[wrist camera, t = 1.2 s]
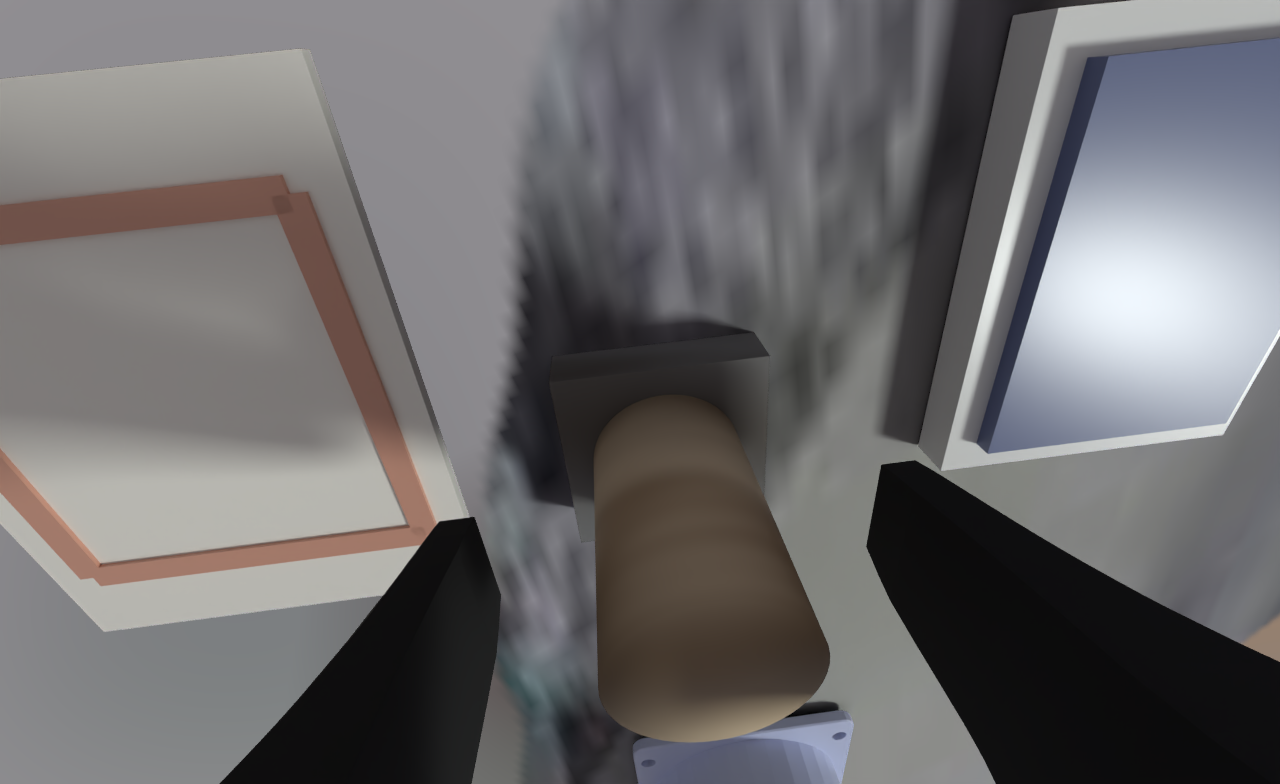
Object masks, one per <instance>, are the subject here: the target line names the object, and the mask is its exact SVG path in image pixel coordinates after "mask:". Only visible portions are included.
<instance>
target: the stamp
mask: <svg viewBox="0 0 1280 784" xmlns="http://www.w3.org/2000/svg"><path fill="white" fill-rule="evenodd" d="M769 367H770V355H769V354H768V352H767V351H766V349H765V348H764V346H763V345H762V344H761V342H760V341H759V339H758V338H757V336H756V335H755V333H754V332H753V333H744V334H736V335H727V336H719V337H710V338H702V339H693V340H685V341H676V342H668V343H660V344H651V345H643V346H634V347H626V348H617V349H609V350H600V351H592V352H584V353H575V354H567V355H558V356H552V361H551V369H550V377H549V386H550V391H551V396H552V401H553V406H554V411H555V416H556V420H557V425H558V430H559V435H560V440H561V445H562V450H563V455H564V460H565V465H566V470H567V475H568V480H569V485H570V489H571V494H572V499H573V504H574V509H575V514H576V519H577V524H578V529H579V534H580V539H581V542H589V541H595V557H596V605H597V653H598V690H599V697H600V700H601V703H602V705H603V707H604V708H605V710H606V712H607V713H608V714H609V715H610V716H611V717H612V718H613V719H614V720H615V721H616V722H618V723H619V724H620V725H622V726H623V727H625V728H627V729H629V730H630V731H633V732H635V733H637V734H640V735H643V736H646V737H650V738H653V739H658V740H663V741H672V742H689V743H690V742H708V741H717V740H723V739H728V738H733V737H737V736H741V735H745V734H748V733H751V732H754V731H757V730H759V729H762V728H764V727H767V726H769V725H771V724H773V723H775V722H777V721H779V720H781V719H783V718H785V717H786V716H788V715H790V714H791V713H793V712H794V711H795V710H797V709H798V708H800V707H801V706H802V705H803V704H804V703H805V702H807V701H808V700H809V699H810V698H811V697H812V696H813V695H814V693H815V692H816V691H817V690H818V688H819V687H820V685H821V684H822V683H823V681H824V679H825V676H826V674H827V672H828V668H829V664H830V652H829V646H828V644H827V641H826V639H825V637H824V634H823V632H822V630H821V627H820V625H819V623H818V620H817V618H816V616H815V613H814V611H813V609H812V606H811V604H810V602H809V599H808V597H807V595H806V592H805V590H804V588H803V585H802V583H801V581H800V579H799V576H798V574H797V572H796V569H795V567H794V565H793V562H792V560H791V558H790V555H789V553H788V551H787V548H786V546H785V544H784V541H783V539H782V537H781V534H780V532H779V530H778V527H777V525H776V523H775V521H774V518H773V516H772V514H771V511H770V509H769V507H768V504H767V502H766V500H765V497H764V488H765V464H766V440H767V415H768V391H769Z"/></svg>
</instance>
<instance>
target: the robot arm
mask: <svg viewBox="0 0 1280 784" xmlns="http://www.w3.org/2000/svg"><path fill="white" fill-rule="evenodd" d="M866 547H867V549H868V552H869V554H870V556H871V559H872V561H873V563H874V566H875V568H876V570H877V573H878V575H879V577H880V579H881V582H882V584H883V586H884V588H885V590H886V592H887V595H888V597H889V599H890V601H891V603H892V604H893V606H894V608H895V609H896V611H897V613H898V615H899V616H900V618H901V620H902V621H903V623H904V625H905V626H906V628H907V630H908V632H909V633H910V635H911V637H912V638H913V640H914V642H915V643H916V645H917V647H918V648H919V650H920V652H921V653H922V655H923V657H924V658H925V660H926V662H927V663H928V665H929V667H930V668H931V670H932V671H933V673H934V675H935V676H936V678H937V680H938V681H939V683H940V685H941V686H942V688H943V690H944V691H945V693H946V695H947V696H948V698H949V700H950V701H951V703H952V705H953V706H954V708H955V710H956V711H957V713H958V715H959V716H960V718H961V720H962V721H963V723H964V725H965V726H966V728H967V730H968V731H969V733H970V735H971V737H972V739H973V740H974V742H975V744H976V746H977V748H978V749H979V751H980V753H981V755H982V757H983V759H984V760H985V762H986V764H987V767H988V769H989V771H990V773H991V775H992V777H993V779H994V781H995V783H996V784H1280V662H1278V661H1276V660H1274V659H1272V658H1270V657H1268V656H1265V655H1263V654H1261V653H1259V652H1257V651H1255V650H1253V649H1250V648H1248V647H1246V646H1244V645H1242V644H1240V643H1238V642H1236V641H1234V640H1232V639H1230V638H1228V637H1225V636H1223V635H1221V634H1219V633H1217V632H1215V631H1213V630H1211V629H1209V628H1207V627H1205V626H1203V625H1201V624H1199V623H1197V622H1195V621H1193V620H1191V619H1189V618H1187V617H1185V616H1183V615H1181V614H1179V613H1177V612H1175V611H1173V610H1171V609H1169V608H1167V607H1165V606H1163V605H1161V604H1159V603H1157V602H1155V601H1153V600H1151V599H1150V598H1148V597H1146V596H1144V595H1142V594H1140V593H1138V592H1136V591H1134V590H1133V589H1131V588H1129V587H1127V586H1125V585H1124V584H1122V583H1120V582H1118V581H1116V580H1115V579H1113V578H1111V577H1109V576H1107V575H1106V574H1104V573H1102V572H1100V571H1098V570H1096V569H1095V568H1093V567H1091V566H1089V565H1087V564H1086V563H1084V562H1082V561H1080V560H1079V559H1077V558H1075V557H1073V556H1072V555H1070V554H1068V553H1067V552H1065V551H1063V550H1061V549H1060V548H1058V547H1056V546H1055V545H1053V544H1051V543H1050V542H1048V541H1046V540H1045V539H1043V538H1041V537H1039V536H1038V535H1036V534H1035V533H1033V532H1031V531H1030V530H1028V529H1026V528H1025V527H1023V526H1021V525H1020V524H1018V523H1016V522H1015V521H1013V520H1012V519H1010V518H1008V517H1007V516H1005V515H1003V514H1002V513H1000V512H999V511H997V510H995V509H994V508H992V507H991V506H989V505H987V504H986V503H984V502H983V501H981V500H979V499H978V498H976V497H975V496H973V495H971V494H970V493H968V492H967V491H965V490H963V489H962V488H960V487H959V486H957V485H955V484H954V483H952V482H951V481H949V480H947V479H946V478H944V477H943V476H941V475H939V474H938V473H936V472H934V471H933V470H931V469H929V468H928V467H926V466H924V465H922V464H921V463H919V462H917V461H915V460H914V461H906V462H898V463H891V464H883V465H881V470H880V475H879V480H878V486H877V491H876V497H875V502H874V508H873V513H872V519H871V524H870V529H869V535H868V540H867V546H866ZM500 601H501V594H500V591H499V588H498V585H497V582H496V579H495V576H494V573H493V570H492V567H491V564H490V561H489V559H488V556H487V553H486V550H485V547H484V544H483V541H482V538H481V535H480V532H479V529H478V526H477V523H476V520H475V517H469V518H461V519H453V520H446V521H439V522H438V523H437V525H436V526H435V527H434V528H433V530H432V531H431V532H430V534H429V535H428V536H427V537H426V539H425V540H424V541H423V543H422V544H421V546H420V547H419V548H418V550H417V551H416V552H415V554H414V555H413V556H412V558H411V559H410V560H409V562H408V563H407V564H406V566H405V567H404V568H403V570H402V571H401V572H400V574H399V575H398V576H397V578H396V579H395V580H394V582H393V583H392V584H391V586H390V587H389V588H388V590H387V591H386V592H385V594H384V595H383V596H382V598H381V599H380V600H379V601H378V603H377V604H376V605H375V607H374V608H373V609H372V610H371V612H370V613H369V614H368V615H367V617H366V618H365V619H364V621H363V622H362V623H361V624H360V626H359V627H358V628H357V630H356V631H355V632H354V633H353V635H352V636H351V637H350V638H349V640H348V641H347V642H346V643H345V645H344V646H343V647H342V648H341V649H340V651H339V652H338V653H337V654H336V655H335V656H334V658H333V659H332V660H331V661H330V662H329V664H328V665H327V666H326V667H325V668H324V669H323V671H322V672H321V673H320V674H319V675H318V677H317V678H316V679H315V680H314V681H313V682H312V684H311V685H310V686H309V687H308V689H307V690H306V691H305V692H304V693H303V694H302V696H301V697H300V698H299V699H298V700H297V701H296V702H295V703H294V705H293V706H292V707H291V708H290V709H289V710H288V711H287V713H286V714H285V715H284V716H283V717H282V718H281V719H280V720H279V721H278V723H277V724H276V725H275V726H274V727H273V728H272V729H271V730H270V731H269V732H268V733H267V735H266V736H265V737H264V738H263V739H262V740H261V741H260V742H259V743H258V744H257V745H256V746H255V747H254V748H253V749H252V750H251V751H250V752H249V754H248V755H247V756H246V757H245V758H244V759H243V760H242V761H241V762H240V763H239V764H238V765H237V766H236V767H235V768H234V769H233V770H232V771H231V772H230V773H229V775H228V776H227V777H226V778H225V779H224V780H223V781H222V782H221V783H220V784H471V783H472V778H473V773H474V768H475V762H476V757H477V752H478V747H479V742H480V737H481V732H482V727H483V722H484V717H485V711H486V706H487V701H488V696H489V691H490V685H491V680H492V675H493V670H494V664H495V659H496V653H497V641H498V630H499V616H500ZM853 727H854V723H853V720H852V718H851V716H850V714H849V713H848V712H846V711H843V710H837V711H830V712H823V713H816V714H809V715H802V716H795V717H787V718H783V719H781V720H779V721H777V722H775V723H773V724H771V725H769V726H767V727H764V728H762V729H759V730H757V731H754V732H751V733H748V734H745V735H741V736H737V737H733V738H728V739H723V740H717V741H708V742H690V743H689V742H672V741H663V740H658V739H653V738H650V737H646V738H642V739H639V740H637V741H636V742H635V743H634V744H633V758H634V763H635V769H636V774H637V779H638V784H841V783H842V778H843V773H844V769H845V764H846V759H847V755H848V750H849V745H850V741H851V736H852V731H853Z"/></svg>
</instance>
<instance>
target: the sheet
mask: <svg viewBox="0 0 1280 784" xmlns="http://www.w3.org/2000/svg"><path fill="white" fill-rule="evenodd" d="M461 518H469V514H468V511H467V508H466V505H465V502H464V499H463V496H462V493H461V490H460V487H459V484H458V481H457V478H456V476H455V473H454V470H453V467H452V464H451V461H450V458H449V455H448V452H447V449H446V446H445V444H444V441H443V438H442V435H441V432H440V429H439V426H438V423H437V420H436V417H435V414H434V411H433V409H432V406H431V403H430V400H429V397H428V394H427V391H426V388H425V385H424V382H423V379H422V376H421V373H420V370H419V367H418V364H417V361H416V359H415V356H414V353H413V350H412V347H411V344H410V341H409V338H408V335H407V332H406V329H405V327H404V324H403V321H402V318H401V315H400V312H399V309H398V306H397V303H396V300H395V297H394V294H393V292H392V289H391V286H390V283H389V280H388V277H387V274H386V271H385V268H384V265H383V262H382V259H381V256H380V254H379V250H378V247H377V245H376V242H375V239H374V236H373V233H372V230H371V227H370V224H369V221H368V218H367V215H366V212H365V210H364V207H363V204H362V201H361V198H360V195H359V192H358V189H357V186H356V183H355V180H354V177H353V174H352V171H351V169H350V166H349V163H348V160H347V157H346V154H345V151H344V148H343V145H342V142H341V139H340V136H339V134H338V131H337V128H336V125H335V122H334V119H333V116H332V113H331V110H330V107H329V104H328V101H327V98H326V95H325V93H324V90H323V87H322V84H321V81H320V78H319V75H318V72H317V69H316V67H315V63H314V60H313V58H312V55H311V52H310V50H309V49H290V50H280V51H270V52H261V53H251V54H242V55H231V56H221V57H211V58H201V59H192V60H182V61H171V62H161V63H151V64H141V65H132V66H121V67H111V68H101V69H92V70H81V71H73V72H72V71H71V72H61V73H52V74H42V75H32V76H22V77H13V78H2V79H0V524H1V525H2V526H3V527H4V528H5V529H6V530H7V531H8V532H9V533H10V535H11V536H12V537H13V538H14V539H15V540H16V541H17V542H18V543H19V544H20V545H21V546H22V547H23V548H24V549H25V550H26V551H27V552H28V553H29V554H30V555H31V556H32V557H33V558H34V560H35V561H36V562H37V563H38V564H39V565H40V566H41V567H42V568H43V569H44V570H45V571H46V572H47V573H48V574H49V575H50V576H51V577H52V578H53V579H54V580H55V581H56V582H57V583H58V584H59V586H60V587H62V589H63V590H64V591H65V592H66V593H67V594H68V595H69V596H70V597H71V598H72V599H73V600H74V601H75V602H76V603H77V604H78V605H79V606H80V607H81V608H82V610H83V611H85V613H86V614H87V615H88V616H89V617H90V618H91V619H92V620H93V621H94V622H95V623H96V624H97V625H98V626H99V627H100V628H101V629H102V630H103V631H104V632H107V631H114V630H122V629H129V628H137V627H145V626H152V625H160V624H167V623H176V622H183V621H191V620H198V619H206V618H214V617H221V616H229V615H236V614H244V613H252V612H259V611H267V610H275V609H282V608H289V607H297V606H305V605H313V604H319V603H328V602H335V601H343V600H350V599H358V598H365V597H373V596H381V595H384V594H385V592H386V591H387V590H388V588H389V587H390V586H391V584H392V583H393V582H394V580H395V579H396V578H397V576H398V575H399V574H400V572H401V571H402V570H403V568H404V567H405V566H406V564H407V563H408V562H409V560H410V559H411V558H412V556H413V555H414V554H415V552H416V551H417V550H418V548H419V547H420V546H421V544H422V543H423V541H424V540H425V539H426V537H427V536H428V535H429V534H430V532H431V531H432V530H433V528H434V527H435V526H436V525H437V523H438V522H439V521H446V520H453V519H461Z"/></svg>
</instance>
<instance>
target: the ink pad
mask: <svg viewBox="0 0 1280 784" xmlns="http://www.w3.org/2000/svg"><path fill="white" fill-rule="evenodd" d="M1279 336H1280V0H1131V1H1121V2H1111V3H1102V4H1092V5H1082V6H1072V7H1063V8H1055V9H1049V10H1043V11H1036V12H1030V13H1024V14H1018V15H1013V18H1012V22H1011V27H1010V31H1009V36H1008V40H1007V45H1006V49H1005V54H1004V59H1003V63H1002V68H1001V72H1000V77H999V81H998V86H997V90H996V95H995V99H994V104H993V109H992V113H991V118H990V122H989V127H988V131H987V136H986V140H985V145H984V149H983V154H982V159H981V163H980V168H979V172H978V177H977V181H976V186H975V190H974V195H973V199H972V204H971V209H970V213H969V218H968V222H967V227H966V231H965V236H964V240H963V245H962V249H961V254H960V259H959V263H958V268H957V272H956V277H955V281H954V286H953V290H952V295H951V299H950V304H949V309H948V313H947V318H946V322H945V327H944V331H943V336H942V340H941V345H940V349H939V354H938V359H937V363H936V368H935V372H934V377H933V381H932V386H931V390H930V395H929V399H928V404H927V409H926V413H925V418H924V422H923V427H922V431H921V436H920V440H919V445H918V447H919V448H920V449H921V450H922V451H923V452H924V453H925V454H926V455H927V456H928V457H929V459H930V460H931V461H932V462H933V463H934V464H935V465H936V466H937V467H938V468H939V469H940V471H944V470H952V469H960V468H967V467H975V466H983V465H991V464H999V463H1006V462H1014V461H1022V460H1030V459H1038V458H1045V457H1053V456H1061V455H1069V454H1076V453H1084V452H1092V451H1100V450H1108V449H1115V448H1123V447H1131V446H1139V445H1147V444H1154V443H1162V442H1170V441H1178V440H1185V439H1193V438H1201V437H1209V436H1217V435H1223V434H1224V432H1225V430H1226V429H1227V427H1228V425H1229V423H1230V422H1231V420H1232V418H1233V416H1234V415H1235V413H1236V411H1237V409H1238V408H1239V406H1240V404H1241V402H1242V401H1243V399H1244V397H1245V395H1246V394H1247V392H1248V390H1249V388H1250V387H1251V385H1252V383H1253V382H1254V380H1255V378H1256V376H1257V375H1258V373H1259V371H1260V369H1261V368H1262V366H1263V364H1264V362H1265V361H1266V359H1267V357H1268V355H1269V354H1270V352H1271V350H1272V348H1273V347H1274V345H1275V343H1276V341H1277V340H1278V338H1279Z"/></svg>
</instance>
